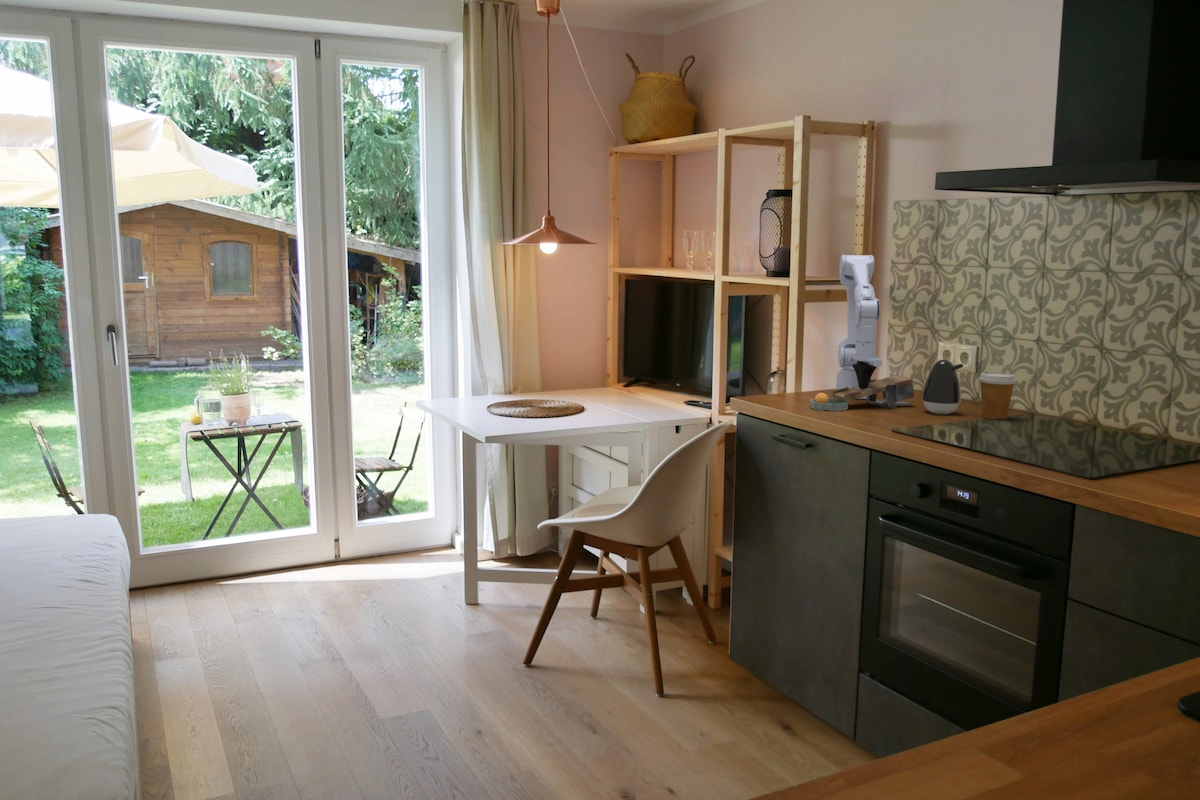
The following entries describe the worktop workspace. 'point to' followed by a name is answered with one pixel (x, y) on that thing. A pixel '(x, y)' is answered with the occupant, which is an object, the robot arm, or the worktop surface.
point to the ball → (822, 398)
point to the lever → (878, 389)
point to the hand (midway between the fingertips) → (863, 388)
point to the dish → (829, 405)
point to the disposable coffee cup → (996, 394)
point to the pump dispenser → (942, 388)
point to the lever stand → (887, 397)
